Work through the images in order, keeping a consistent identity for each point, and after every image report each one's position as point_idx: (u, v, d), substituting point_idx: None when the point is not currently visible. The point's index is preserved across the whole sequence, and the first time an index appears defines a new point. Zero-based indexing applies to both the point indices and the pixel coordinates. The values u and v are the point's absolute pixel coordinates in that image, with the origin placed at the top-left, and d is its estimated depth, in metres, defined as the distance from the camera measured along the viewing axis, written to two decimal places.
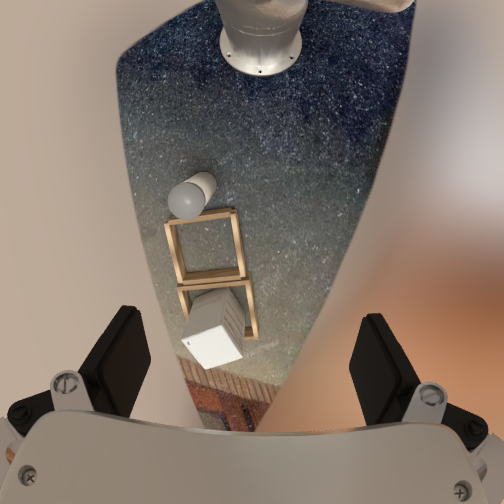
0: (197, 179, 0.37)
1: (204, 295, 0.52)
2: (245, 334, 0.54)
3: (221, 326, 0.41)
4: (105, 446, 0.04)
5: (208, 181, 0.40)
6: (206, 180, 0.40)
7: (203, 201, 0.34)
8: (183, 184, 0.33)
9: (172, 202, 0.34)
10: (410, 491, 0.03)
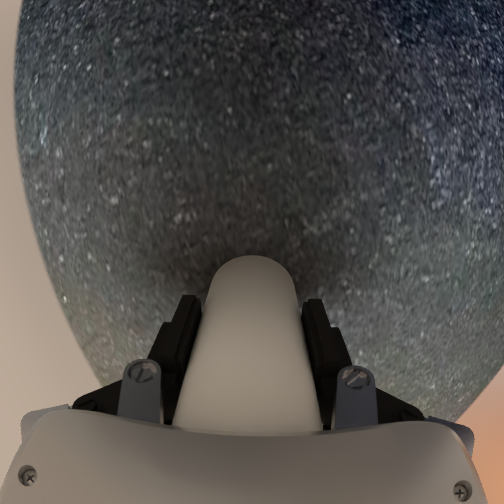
0: (273, 375, 0.07)
1: None
2: None
3: None
4: (105, 446, 0.04)
5: (299, 334, 0.10)
6: (295, 337, 0.09)
7: None
8: None
9: None
10: (410, 491, 0.03)
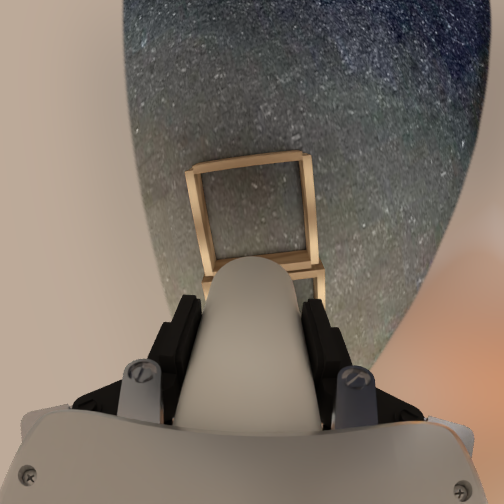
0: (273, 377, 0.07)
1: None
2: None
3: None
4: (105, 446, 0.04)
5: (298, 335, 0.10)
6: (294, 339, 0.09)
7: None
8: None
9: None
10: (410, 491, 0.03)
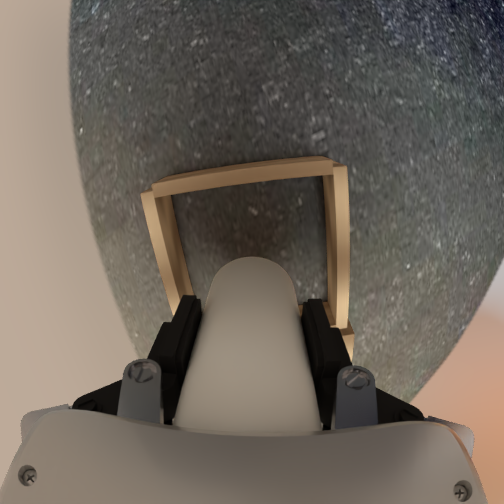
0: (273, 377, 0.07)
1: None
2: None
3: None
4: (105, 446, 0.04)
5: (298, 336, 0.10)
6: (294, 339, 0.09)
7: None
8: None
9: None
10: (410, 491, 0.03)
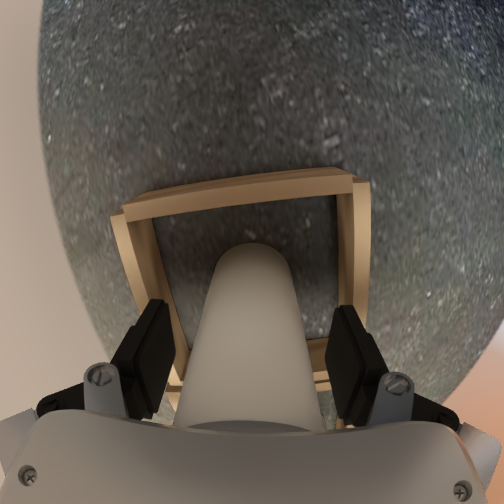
0: (271, 335, 0.09)
1: None
2: None
3: None
4: (105, 446, 0.04)
5: (294, 307, 0.11)
6: (290, 309, 0.11)
7: None
8: None
9: None
10: (410, 491, 0.03)
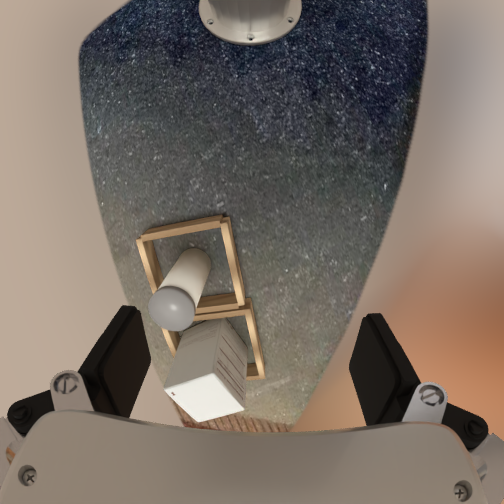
0: (184, 273, 0.30)
1: (194, 328, 0.40)
2: (248, 373, 0.42)
3: (214, 374, 0.29)
4: (105, 446, 0.04)
5: (199, 269, 0.33)
6: (196, 269, 0.32)
7: (192, 311, 0.27)
8: (165, 291, 0.26)
9: (154, 311, 0.27)
10: (410, 491, 0.03)
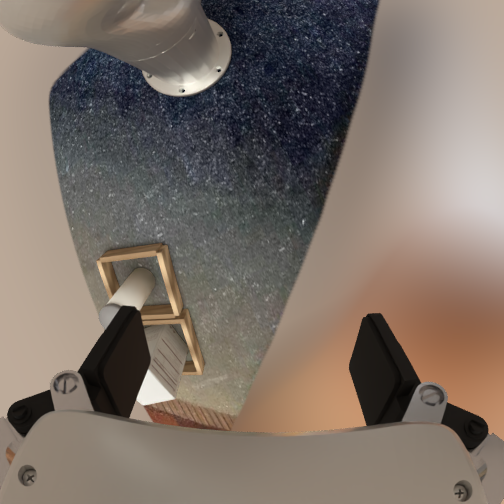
0: (126, 292, 0.37)
1: (145, 329, 0.48)
2: (189, 369, 0.49)
3: (148, 369, 0.36)
4: (105, 446, 0.04)
5: (140, 287, 0.40)
6: (138, 288, 0.39)
7: None
8: (108, 308, 0.33)
9: (103, 321, 0.34)
10: (410, 491, 0.03)
